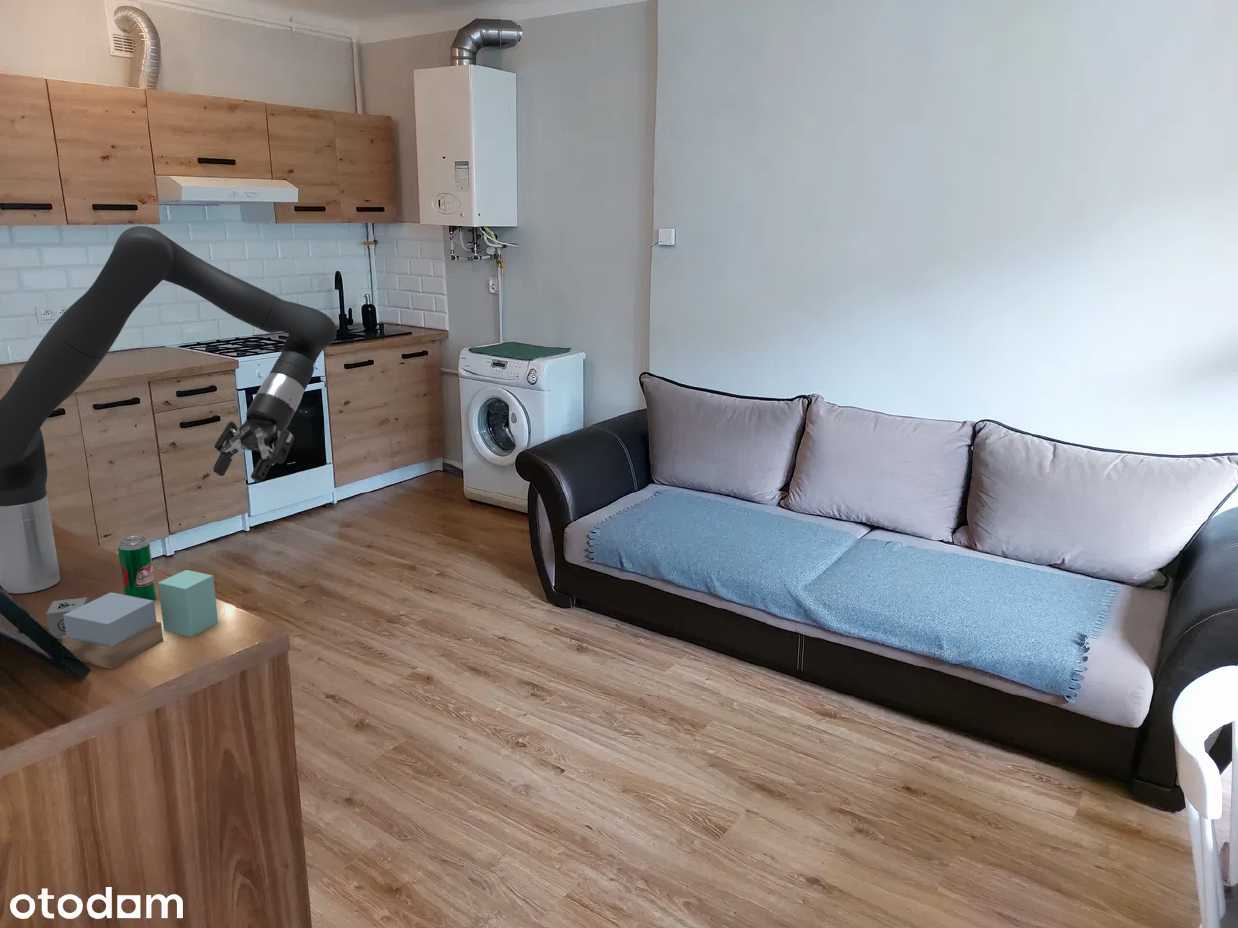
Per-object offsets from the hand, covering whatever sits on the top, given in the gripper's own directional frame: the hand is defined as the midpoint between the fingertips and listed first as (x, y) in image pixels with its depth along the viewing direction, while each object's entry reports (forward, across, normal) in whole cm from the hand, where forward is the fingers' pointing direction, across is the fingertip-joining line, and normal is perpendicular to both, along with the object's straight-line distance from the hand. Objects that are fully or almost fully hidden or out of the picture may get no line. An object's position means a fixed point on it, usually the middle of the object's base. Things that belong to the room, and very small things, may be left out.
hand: (236, 477), depth 154 cm
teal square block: (+26, 0, +7) cm, 27 cm away
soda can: (+23, -16, +10) cm, 30 cm away
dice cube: (+33, -17, +1) cm, 37 cm away
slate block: (+31, -5, -3) cm, 32 cm away
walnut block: (+34, -5, 0) cm, 34 cm away
